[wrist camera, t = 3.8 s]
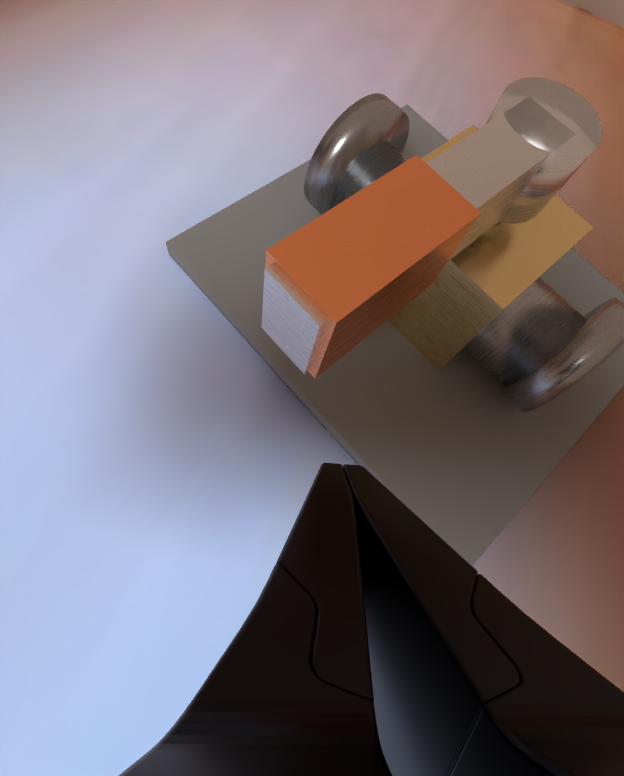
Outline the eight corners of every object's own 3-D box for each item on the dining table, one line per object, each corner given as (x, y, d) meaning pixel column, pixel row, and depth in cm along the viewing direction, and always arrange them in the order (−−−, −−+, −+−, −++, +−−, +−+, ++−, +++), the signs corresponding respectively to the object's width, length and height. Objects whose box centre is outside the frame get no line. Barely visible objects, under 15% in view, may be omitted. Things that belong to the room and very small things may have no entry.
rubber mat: (653, 340, 20) (668, 332, 20) (455, 572, 15) (465, 573, 15) (402, 118, 23) (407, 104, 23) (169, 254, 18) (165, 242, 18)
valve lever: (492, 146, 14) (545, 56, 12) (556, 201, 14) (627, 120, 11) (245, 314, 11) (244, 240, 8) (319, 395, 10) (343, 344, 8)
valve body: (568, 354, 18) (696, 276, 13) (496, 429, 17) (610, 375, 11) (375, 175, 21) (419, 46, 15) (294, 226, 19) (312, 100, 14)
